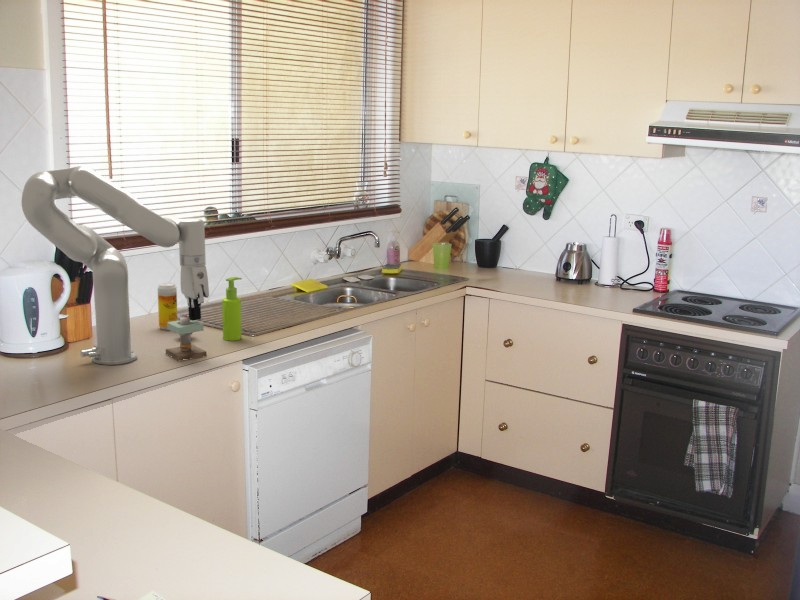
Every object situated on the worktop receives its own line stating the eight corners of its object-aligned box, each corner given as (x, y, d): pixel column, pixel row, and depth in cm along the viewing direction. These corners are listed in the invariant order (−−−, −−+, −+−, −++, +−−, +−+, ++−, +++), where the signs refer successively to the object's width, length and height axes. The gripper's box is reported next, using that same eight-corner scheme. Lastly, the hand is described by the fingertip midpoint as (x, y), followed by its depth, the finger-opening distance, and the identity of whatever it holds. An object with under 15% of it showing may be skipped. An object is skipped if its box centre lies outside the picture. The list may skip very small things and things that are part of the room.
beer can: (172, 330, 290) (171, 287, 286) (155, 329, 291) (154, 285, 287) (180, 326, 295) (179, 283, 292) (164, 324, 297) (162, 282, 293)
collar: (178, 334, 256) (178, 328, 256) (167, 328, 262) (166, 322, 262) (203, 330, 261) (203, 324, 261) (191, 324, 267) (191, 318, 267)
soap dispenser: (247, 337, 284) (246, 277, 280) (232, 341, 279) (231, 280, 274) (234, 334, 288) (233, 275, 283) (219, 338, 282) (217, 278, 277)
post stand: (178, 361, 257) (177, 323, 255) (165, 353, 264) (164, 317, 261) (206, 356, 263) (205, 319, 260) (193, 349, 270) (192, 313, 267)
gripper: (215, 262, 255) (217, 322, 260) (192, 254, 267) (195, 312, 271) (192, 265, 251) (194, 326, 255) (170, 257, 262) (172, 316, 266)
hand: (194, 319), depth 263 cm, fingers closed
